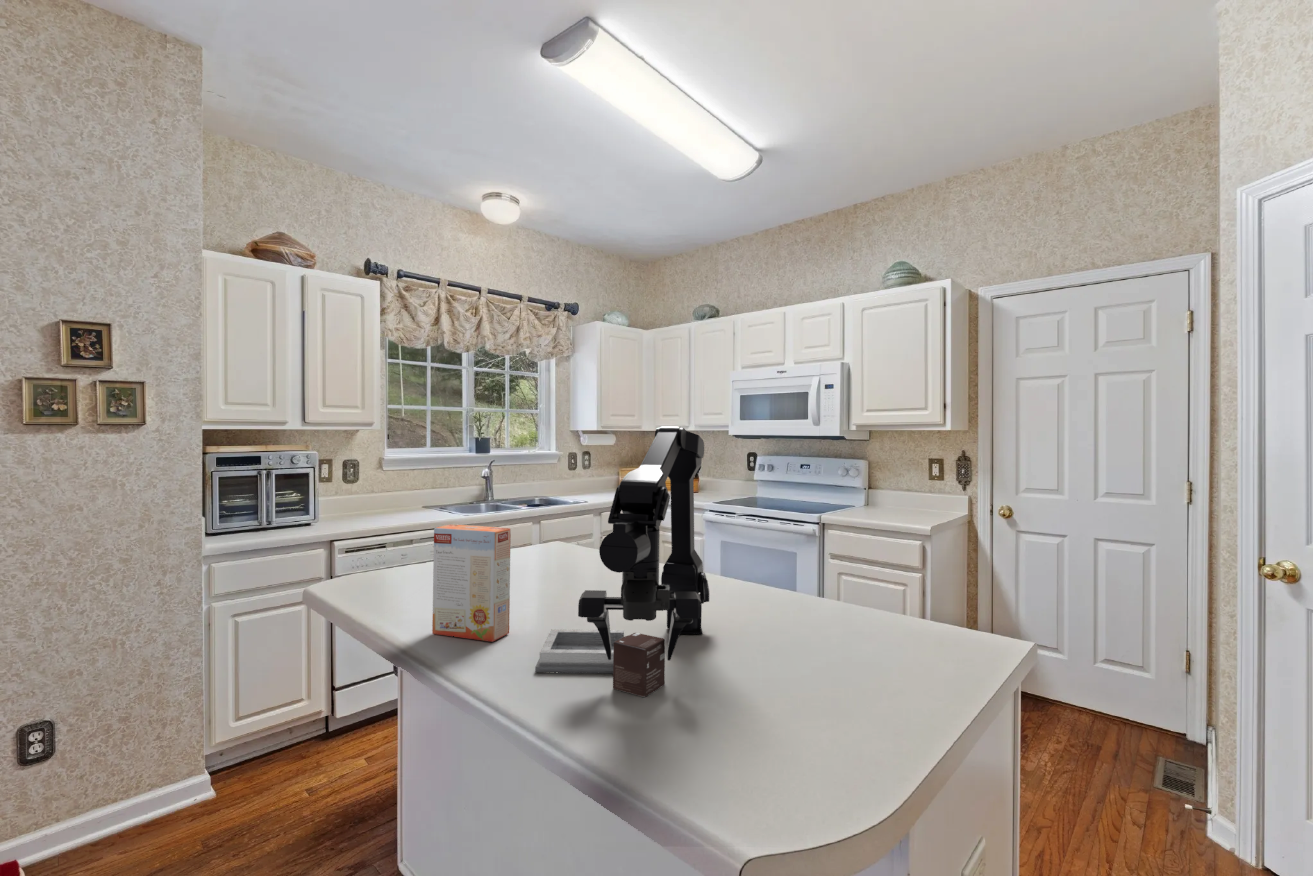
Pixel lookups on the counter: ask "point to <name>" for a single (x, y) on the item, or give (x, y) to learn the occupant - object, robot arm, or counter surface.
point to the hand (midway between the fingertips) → (639, 659)
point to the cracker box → (471, 582)
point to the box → (639, 664)
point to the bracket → (576, 652)
